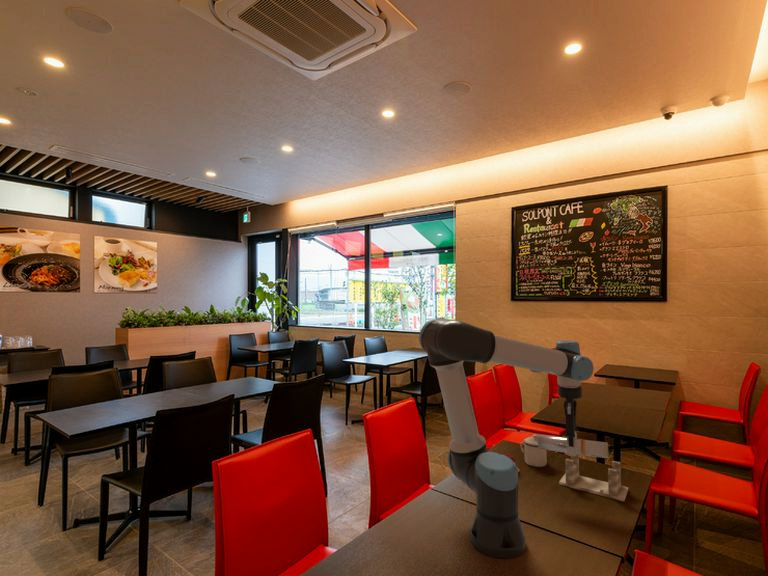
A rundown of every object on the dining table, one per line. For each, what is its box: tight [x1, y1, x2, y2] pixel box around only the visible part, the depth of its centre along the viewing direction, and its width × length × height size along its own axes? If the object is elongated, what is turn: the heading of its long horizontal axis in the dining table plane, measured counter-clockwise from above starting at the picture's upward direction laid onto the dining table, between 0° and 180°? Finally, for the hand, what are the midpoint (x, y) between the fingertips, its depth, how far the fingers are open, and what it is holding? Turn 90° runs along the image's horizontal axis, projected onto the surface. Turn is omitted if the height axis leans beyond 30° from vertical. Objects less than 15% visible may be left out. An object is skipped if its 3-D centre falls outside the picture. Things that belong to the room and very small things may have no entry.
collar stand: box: [558, 454, 629, 502], centre depth 149 cm, size 21×10×10 cm, turn 52°
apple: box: [504, 453, 520, 473], centre depth 164 cm, size 8×8×6 cm
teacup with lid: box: [520, 434, 548, 468], centre depth 172 cm, size 12×9×12 cm
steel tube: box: [537, 433, 609, 459], centre depth 141 cm, size 22×5×5 cm, turn 62°
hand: (572, 452), depth 141 cm, fingers closed on steel tube, 5 cm apart
